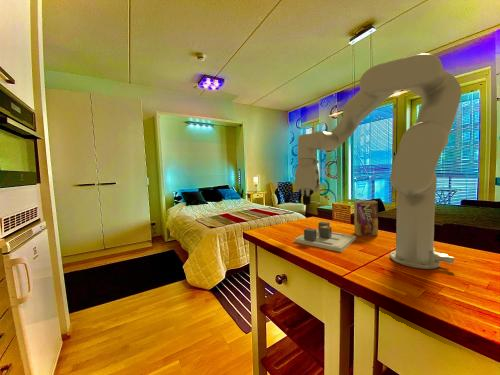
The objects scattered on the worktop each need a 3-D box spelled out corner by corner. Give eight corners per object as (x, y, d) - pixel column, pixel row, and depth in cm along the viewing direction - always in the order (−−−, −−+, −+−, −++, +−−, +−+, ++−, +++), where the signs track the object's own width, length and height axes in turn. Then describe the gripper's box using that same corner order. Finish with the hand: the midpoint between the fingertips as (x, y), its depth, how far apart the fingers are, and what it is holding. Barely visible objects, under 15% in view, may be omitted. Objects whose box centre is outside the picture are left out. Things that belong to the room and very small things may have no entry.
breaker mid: (331, 236, 91) (331, 226, 90) (328, 238, 88) (328, 228, 88) (322, 234, 93) (322, 225, 93) (319, 236, 91) (319, 226, 91)
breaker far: (329, 231, 98) (329, 222, 98) (327, 232, 96) (327, 224, 96) (321, 229, 101) (321, 221, 101) (318, 231, 99) (318, 222, 98)
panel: (355, 239, 91) (355, 235, 91) (341, 252, 78) (341, 247, 78) (313, 232, 104) (313, 228, 104) (294, 242, 91) (294, 238, 90)
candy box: (374, 233, 99) (374, 200, 98) (378, 235, 95) (378, 201, 94) (353, 232, 101) (354, 200, 100) (356, 235, 97) (356, 201, 96)
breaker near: (316, 239, 88) (316, 229, 87) (313, 241, 86) (313, 231, 85) (307, 237, 90) (307, 228, 90) (304, 239, 88) (303, 229, 88)
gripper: (326, 162, 92) (326, 205, 93) (295, 163, 102) (295, 202, 103) (319, 162, 86) (319, 207, 88) (287, 163, 96) (287, 204, 98)
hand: (306, 204), depth 96 cm, fingers closed
